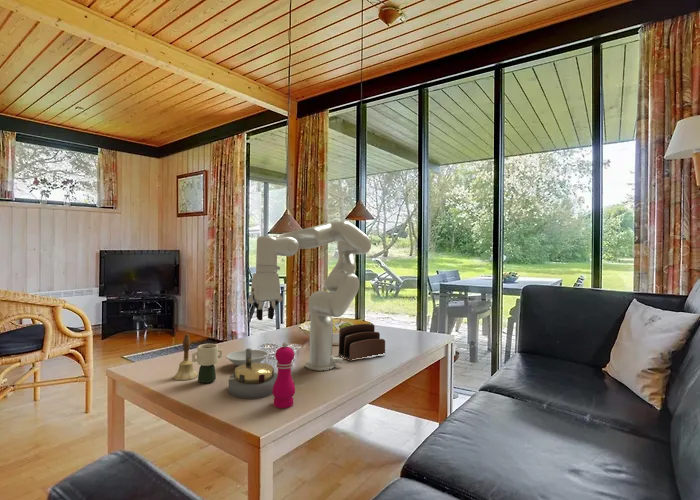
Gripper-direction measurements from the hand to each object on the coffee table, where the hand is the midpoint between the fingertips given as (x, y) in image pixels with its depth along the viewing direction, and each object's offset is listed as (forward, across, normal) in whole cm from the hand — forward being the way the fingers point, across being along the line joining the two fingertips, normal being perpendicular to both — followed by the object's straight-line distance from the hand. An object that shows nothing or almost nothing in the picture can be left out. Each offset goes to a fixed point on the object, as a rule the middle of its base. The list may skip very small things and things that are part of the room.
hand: (265, 318), depth 145 cm
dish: (+24, -1, -19) cm, 30 cm away
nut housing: (+23, +6, +6) cm, 25 cm away
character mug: (+23, +18, -10) cm, 31 cm away
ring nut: (+19, +6, +6) cm, 21 cm away
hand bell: (+24, +23, -19) cm, 38 cm away
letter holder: (+24, -52, -8) cm, 58 cm away
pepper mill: (+23, +3, +23) cm, 33 cm away
